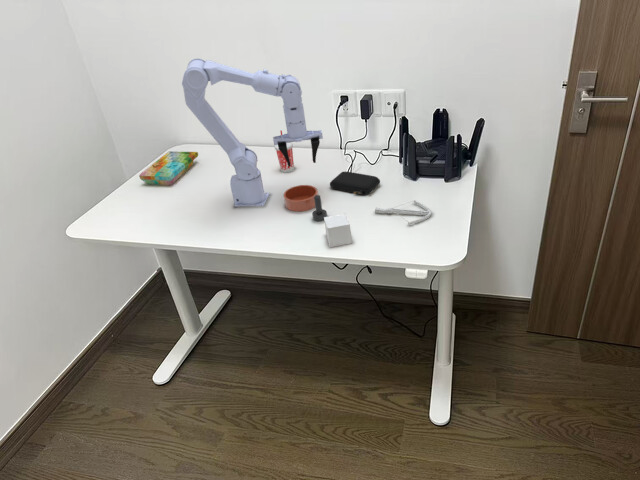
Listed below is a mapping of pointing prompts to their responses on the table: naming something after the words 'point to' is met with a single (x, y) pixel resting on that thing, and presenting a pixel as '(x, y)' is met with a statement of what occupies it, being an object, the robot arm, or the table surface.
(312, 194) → the pot
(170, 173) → the puzzle game
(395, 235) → the table surface
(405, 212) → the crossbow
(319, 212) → the dark grey bolt
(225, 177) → the table surface
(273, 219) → the table surface
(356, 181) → the carrying case
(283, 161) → the beverage cup
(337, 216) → the white cube
